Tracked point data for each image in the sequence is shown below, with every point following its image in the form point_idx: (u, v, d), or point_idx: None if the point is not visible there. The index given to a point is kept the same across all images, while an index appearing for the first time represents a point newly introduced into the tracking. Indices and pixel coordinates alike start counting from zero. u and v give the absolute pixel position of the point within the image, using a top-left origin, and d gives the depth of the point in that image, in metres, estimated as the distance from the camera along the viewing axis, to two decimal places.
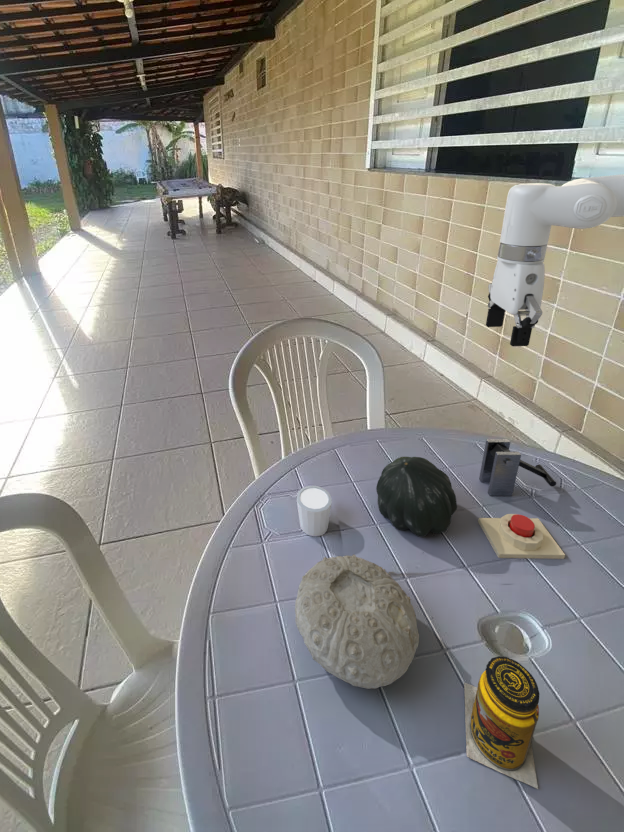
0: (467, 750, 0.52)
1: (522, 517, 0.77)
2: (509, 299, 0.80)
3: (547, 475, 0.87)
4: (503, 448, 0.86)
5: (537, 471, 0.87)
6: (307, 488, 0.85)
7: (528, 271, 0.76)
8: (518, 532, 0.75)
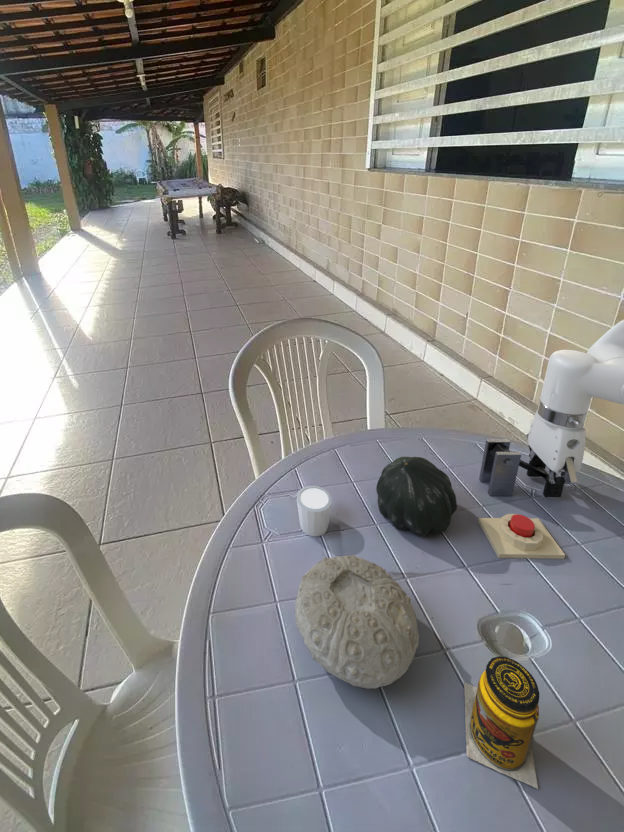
0: (467, 750, 0.52)
1: (522, 517, 0.77)
2: (550, 456, 0.82)
3: (547, 475, 0.87)
4: (503, 448, 0.86)
5: (537, 471, 0.87)
6: (307, 488, 0.85)
7: (570, 437, 0.79)
8: (518, 532, 0.75)
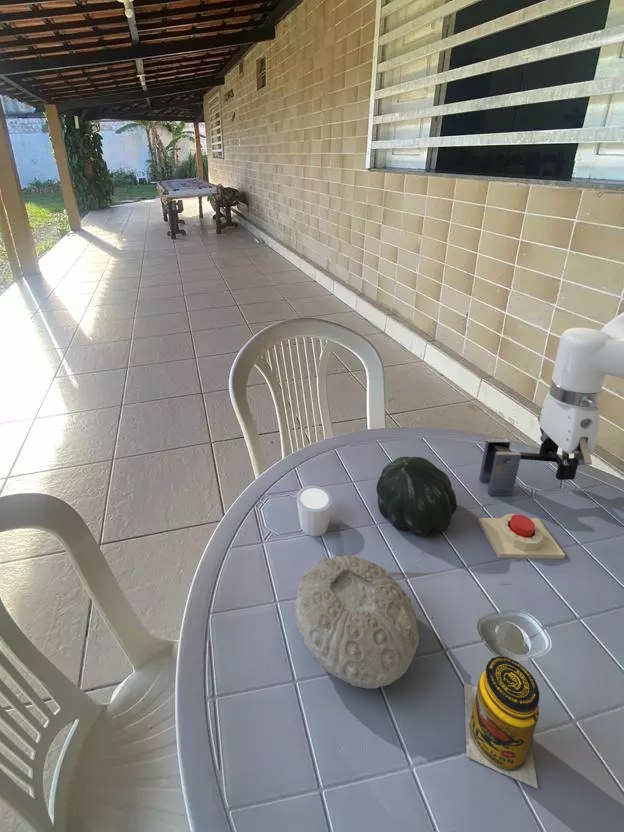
0: (467, 750, 0.52)
1: (522, 517, 0.77)
2: (562, 437, 0.81)
3: (557, 459, 0.85)
4: (500, 448, 0.86)
5: (545, 458, 0.85)
6: (307, 488, 0.85)
7: (583, 416, 0.77)
8: (518, 532, 0.75)
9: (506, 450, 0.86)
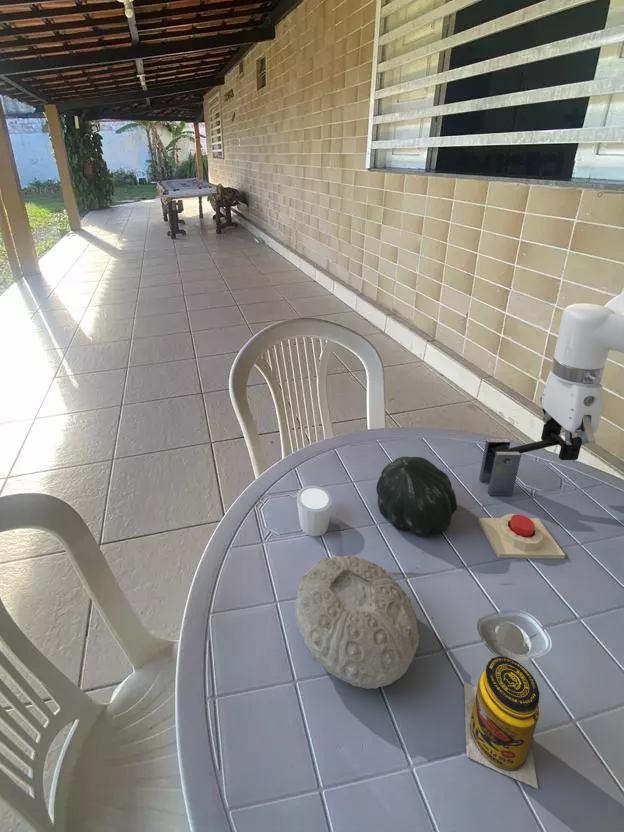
0: (467, 750, 0.52)
1: (522, 517, 0.77)
2: (565, 416, 0.79)
3: (559, 441, 0.84)
4: (498, 449, 0.86)
5: (547, 444, 0.84)
6: (307, 488, 0.85)
7: (586, 393, 0.75)
8: (518, 532, 0.75)
9: (503, 450, 0.86)
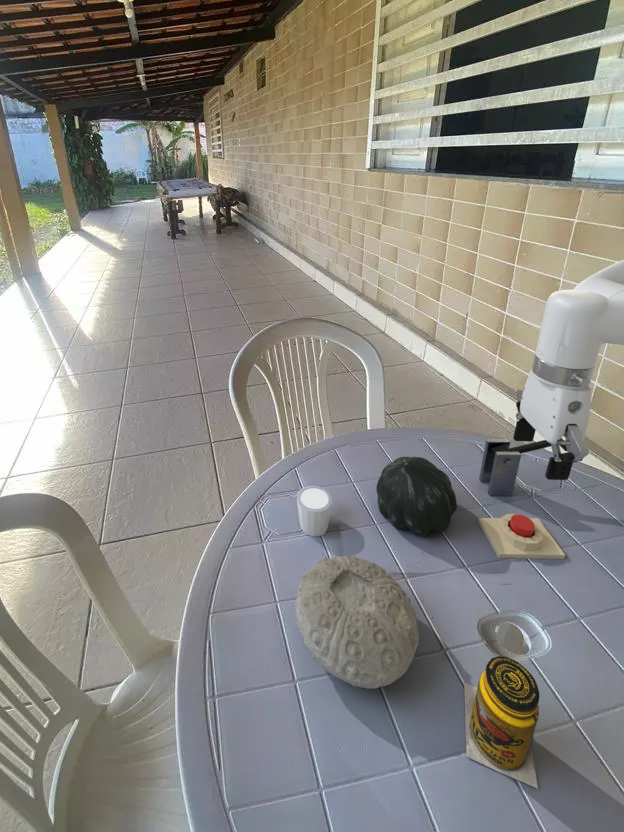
0: (467, 750, 0.52)
1: (522, 517, 0.77)
2: (546, 424, 0.66)
3: None
4: (498, 449, 0.86)
5: (547, 444, 0.84)
6: (307, 488, 0.85)
7: (571, 398, 0.62)
8: (518, 532, 0.75)
9: (503, 450, 0.86)
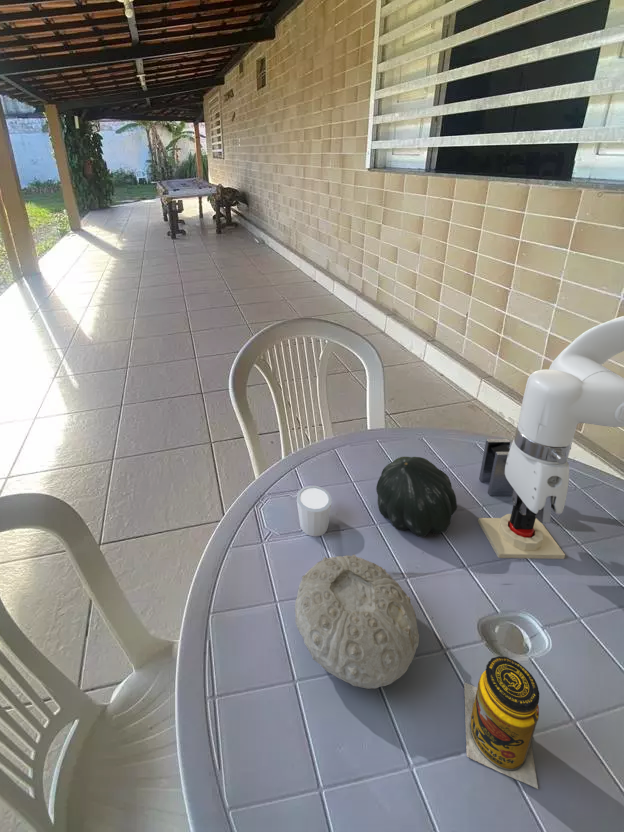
0: (467, 750, 0.52)
1: None
2: (528, 494, 0.70)
3: None
4: (498, 449, 0.86)
5: None
6: (307, 488, 0.85)
7: (551, 473, 0.67)
8: None
9: (503, 450, 0.86)
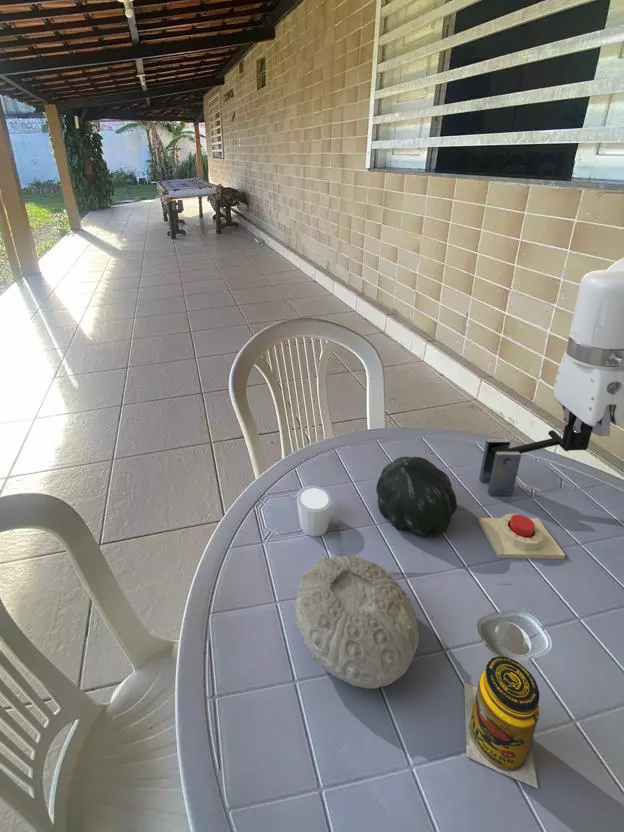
0: (467, 750, 0.52)
1: (522, 517, 0.77)
2: (584, 406, 0.66)
3: (559, 441, 0.84)
4: (498, 449, 0.86)
5: (547, 444, 0.84)
6: (307, 488, 0.85)
7: (610, 379, 0.62)
8: (518, 532, 0.75)
9: (503, 450, 0.86)
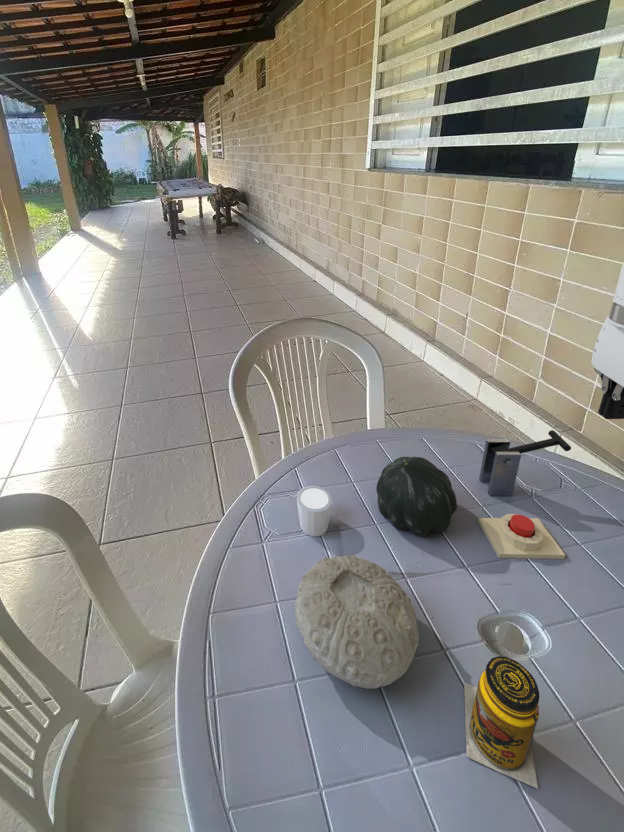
0: (467, 750, 0.52)
1: (522, 517, 0.77)
2: None
3: (559, 441, 0.84)
4: (498, 449, 0.86)
5: (547, 444, 0.84)
6: (307, 488, 0.85)
7: None
8: (518, 532, 0.75)
9: (503, 450, 0.86)
